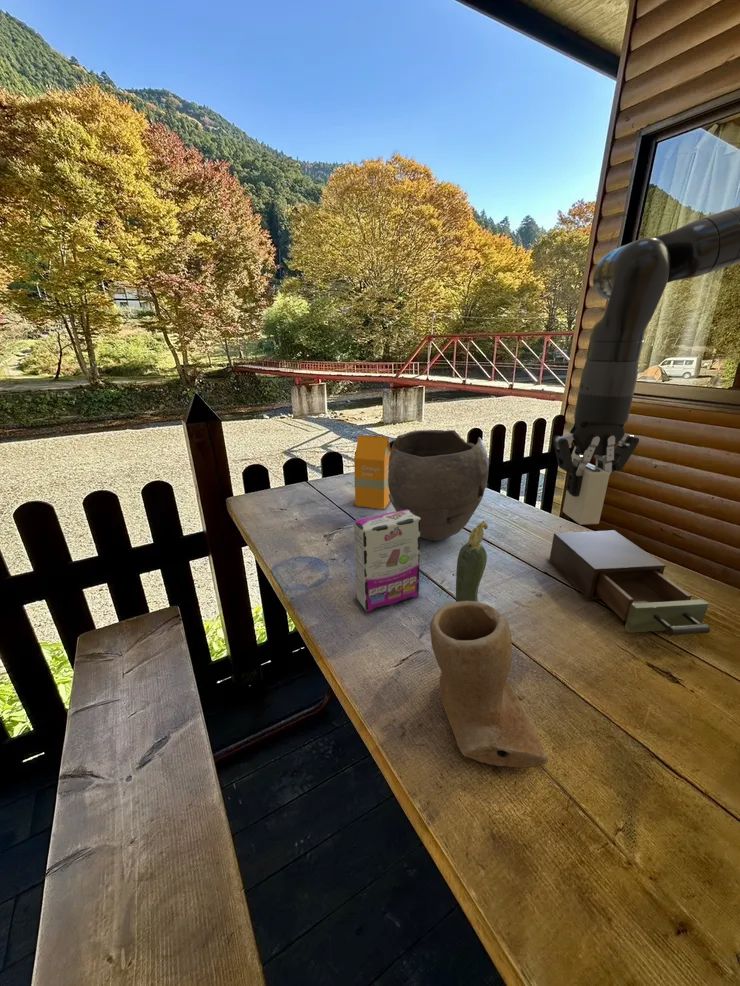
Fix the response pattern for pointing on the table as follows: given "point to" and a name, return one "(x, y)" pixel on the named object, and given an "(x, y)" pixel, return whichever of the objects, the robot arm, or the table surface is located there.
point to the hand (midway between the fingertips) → (584, 494)
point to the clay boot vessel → (482, 686)
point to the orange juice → (372, 472)
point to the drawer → (651, 602)
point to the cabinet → (597, 557)
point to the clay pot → (437, 479)
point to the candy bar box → (387, 559)
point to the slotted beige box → (588, 497)
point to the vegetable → (471, 566)
